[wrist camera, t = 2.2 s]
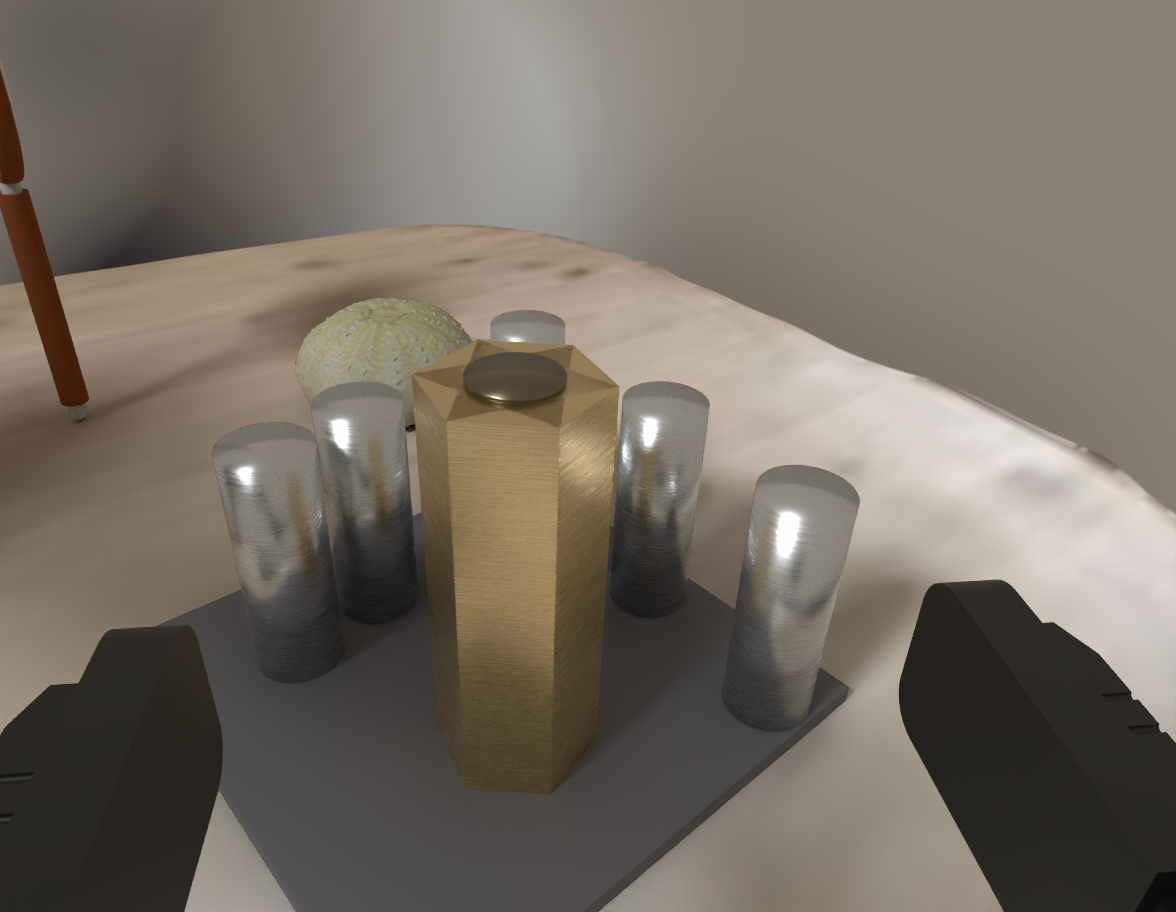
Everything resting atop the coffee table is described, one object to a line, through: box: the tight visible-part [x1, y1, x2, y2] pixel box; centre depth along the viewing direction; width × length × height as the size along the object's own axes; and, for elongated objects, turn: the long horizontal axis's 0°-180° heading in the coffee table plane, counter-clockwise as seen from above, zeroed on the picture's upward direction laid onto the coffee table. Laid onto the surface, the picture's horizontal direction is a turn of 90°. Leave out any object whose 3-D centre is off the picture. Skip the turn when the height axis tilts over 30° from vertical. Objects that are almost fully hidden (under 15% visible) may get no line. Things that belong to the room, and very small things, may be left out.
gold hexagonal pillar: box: [412, 340, 619, 795], centre depth 24 cm, size 5×4×12 cm
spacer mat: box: [155, 513, 849, 912], centre depth 29 cm, size 17×17×1 cm
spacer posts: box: [212, 310, 860, 732], centre depth 28 cm, size 16×14×8 cm
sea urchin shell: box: [295, 297, 472, 427], centre depth 45 cm, size 9×8×8 cm
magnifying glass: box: [0, 59, 89, 420], centre depth 38 cm, size 9×2×20 cm, turn 37°
